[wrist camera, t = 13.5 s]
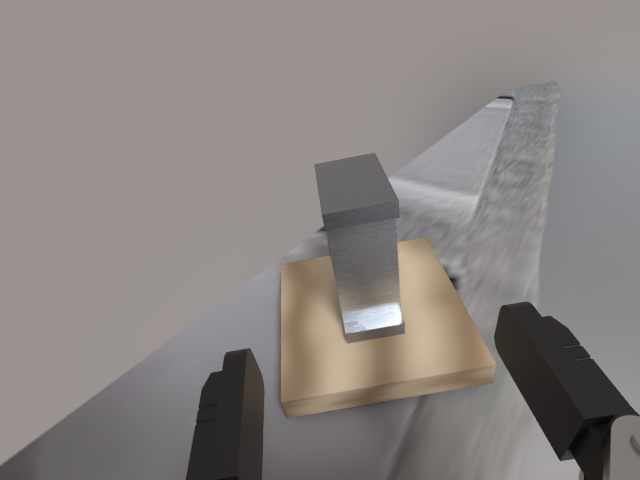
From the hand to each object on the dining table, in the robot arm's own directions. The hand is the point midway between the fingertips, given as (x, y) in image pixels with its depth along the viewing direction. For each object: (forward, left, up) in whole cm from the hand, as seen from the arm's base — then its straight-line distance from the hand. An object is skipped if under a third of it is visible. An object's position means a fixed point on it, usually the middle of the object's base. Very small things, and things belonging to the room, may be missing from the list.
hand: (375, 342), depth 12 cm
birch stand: (+1, +14, -17) cm, 22 cm away
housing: (+1, +14, -14) cm, 20 cm away
